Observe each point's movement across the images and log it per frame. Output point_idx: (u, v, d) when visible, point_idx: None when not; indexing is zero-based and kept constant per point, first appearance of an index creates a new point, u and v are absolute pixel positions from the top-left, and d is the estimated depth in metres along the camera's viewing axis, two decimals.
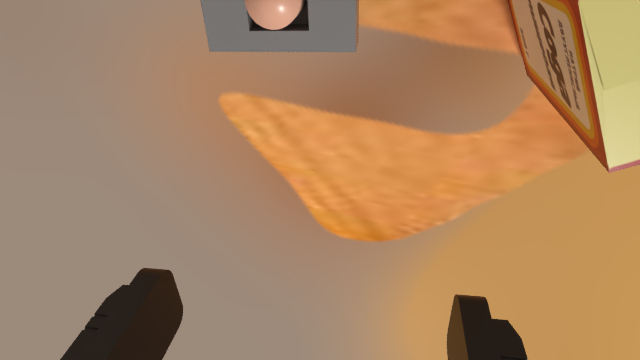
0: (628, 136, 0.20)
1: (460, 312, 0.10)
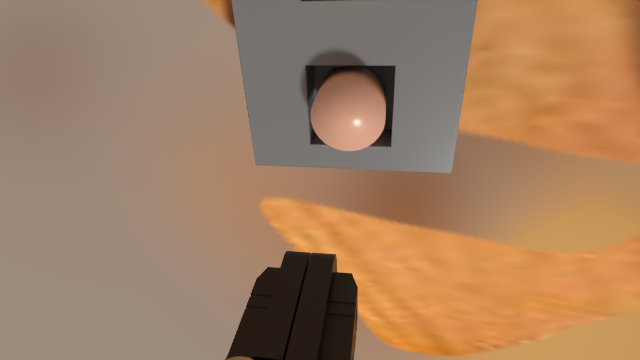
0: None
1: (308, 266, 0.11)
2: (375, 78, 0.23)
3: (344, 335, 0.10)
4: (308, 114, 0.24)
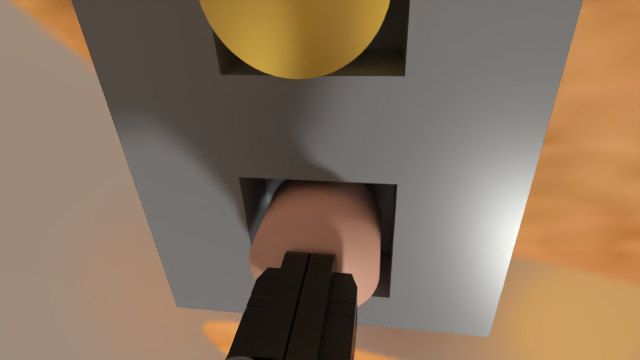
0: None
1: (308, 266, 0.11)
2: (362, 193, 0.13)
3: (344, 335, 0.10)
4: (251, 245, 0.14)
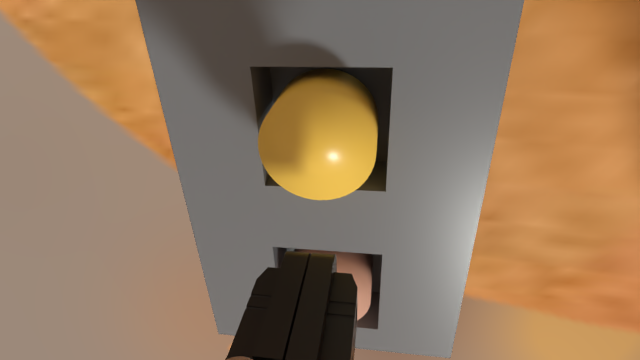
0: None
1: (308, 266, 0.11)
2: None
3: (344, 335, 0.10)
4: None
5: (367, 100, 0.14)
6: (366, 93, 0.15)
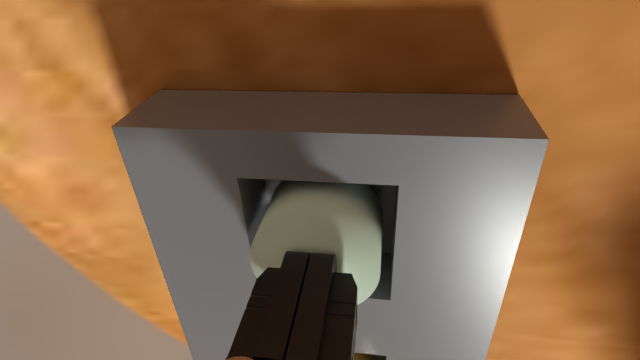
0: None
1: (308, 266, 0.11)
2: None
3: (344, 335, 0.10)
4: None
5: None
6: (364, 355, 0.17)
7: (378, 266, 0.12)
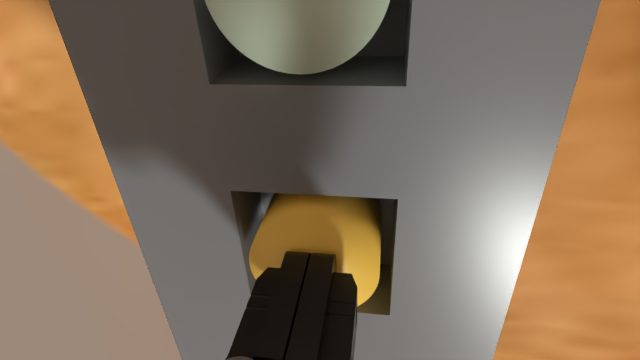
0: None
1: (308, 266, 0.11)
2: None
3: (344, 335, 0.10)
4: None
5: (369, 209, 0.13)
6: (368, 198, 0.13)
7: None
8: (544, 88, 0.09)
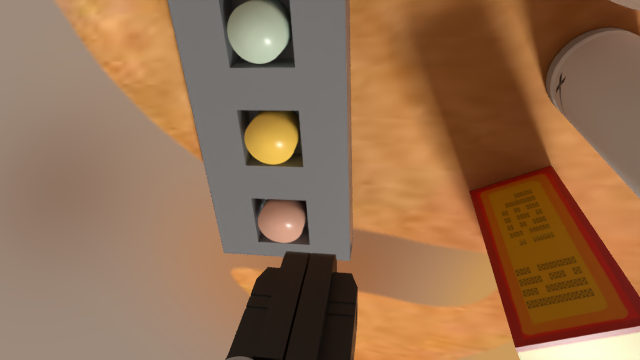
0: None
1: (308, 265, 0.11)
2: None
3: (344, 335, 0.10)
4: (255, 224, 0.37)
5: (292, 119, 0.32)
6: (293, 116, 0.33)
7: (283, 29, 0.27)
8: (337, 67, 0.28)
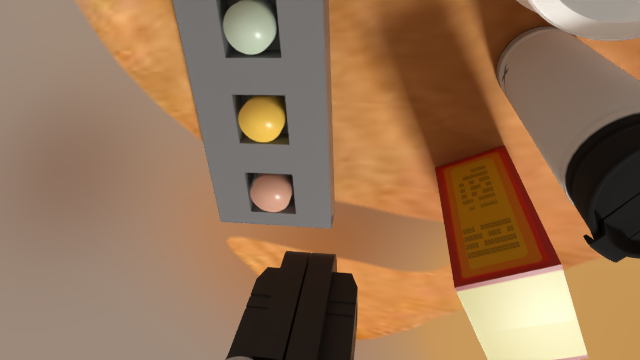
0: (501, 354, 0.30)
1: (308, 266, 0.11)
2: None
3: (344, 335, 0.10)
4: (248, 196, 0.42)
5: (280, 103, 0.37)
6: (280, 100, 0.38)
7: (271, 25, 0.32)
8: (317, 58, 0.33)
